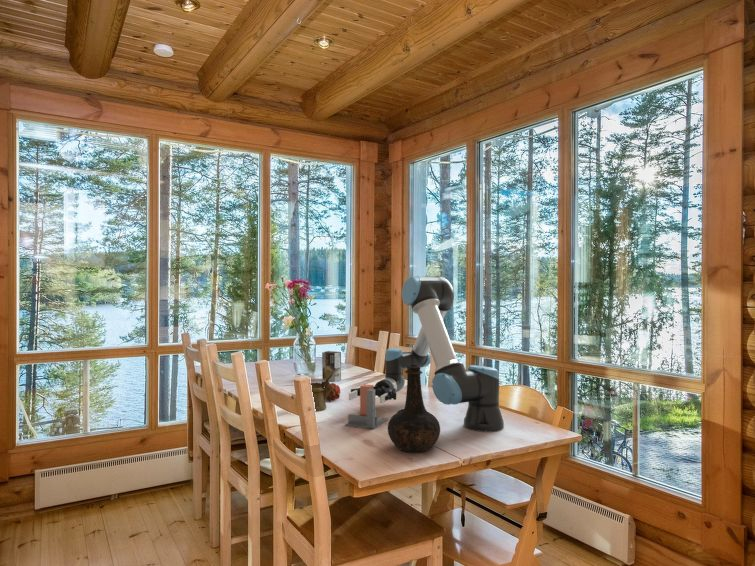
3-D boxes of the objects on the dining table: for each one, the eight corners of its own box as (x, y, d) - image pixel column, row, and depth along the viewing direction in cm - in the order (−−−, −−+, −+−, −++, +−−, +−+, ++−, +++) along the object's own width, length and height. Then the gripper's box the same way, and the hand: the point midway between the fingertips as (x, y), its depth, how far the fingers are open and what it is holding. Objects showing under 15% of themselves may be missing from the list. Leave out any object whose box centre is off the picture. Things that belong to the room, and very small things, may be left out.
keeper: (360, 417, 215) (360, 381, 215) (387, 420, 211) (387, 383, 211) (344, 426, 202) (344, 388, 202) (372, 429, 197) (372, 390, 197)
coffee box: (341, 380, 294) (341, 351, 294) (334, 382, 289) (334, 353, 289) (328, 378, 299) (328, 350, 299) (321, 380, 294) (321, 352, 294)
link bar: (364, 419, 209) (364, 384, 209) (373, 420, 208) (373, 385, 208) (360, 421, 206) (360, 386, 206) (369, 422, 204) (369, 387, 204)
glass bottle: (421, 437, 188) (421, 359, 188) (451, 451, 172) (451, 367, 172) (378, 444, 179) (377, 363, 179) (405, 460, 164) (404, 371, 163)
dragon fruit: (331, 406, 240) (329, 404, 252) (345, 394, 242) (342, 392, 254) (320, 391, 241) (318, 390, 252) (334, 380, 242) (332, 379, 254)
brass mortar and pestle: (336, 411, 225) (336, 369, 225) (305, 412, 224) (304, 370, 224) (336, 406, 234) (335, 366, 234) (305, 407, 233) (305, 366, 233)
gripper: (412, 399, 220) (394, 410, 200) (359, 394, 230) (337, 404, 210) (412, 381, 220) (394, 391, 200) (359, 377, 230) (336, 386, 210)
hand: (365, 398), depth 205 cm, fingers open, 13 cm apart
